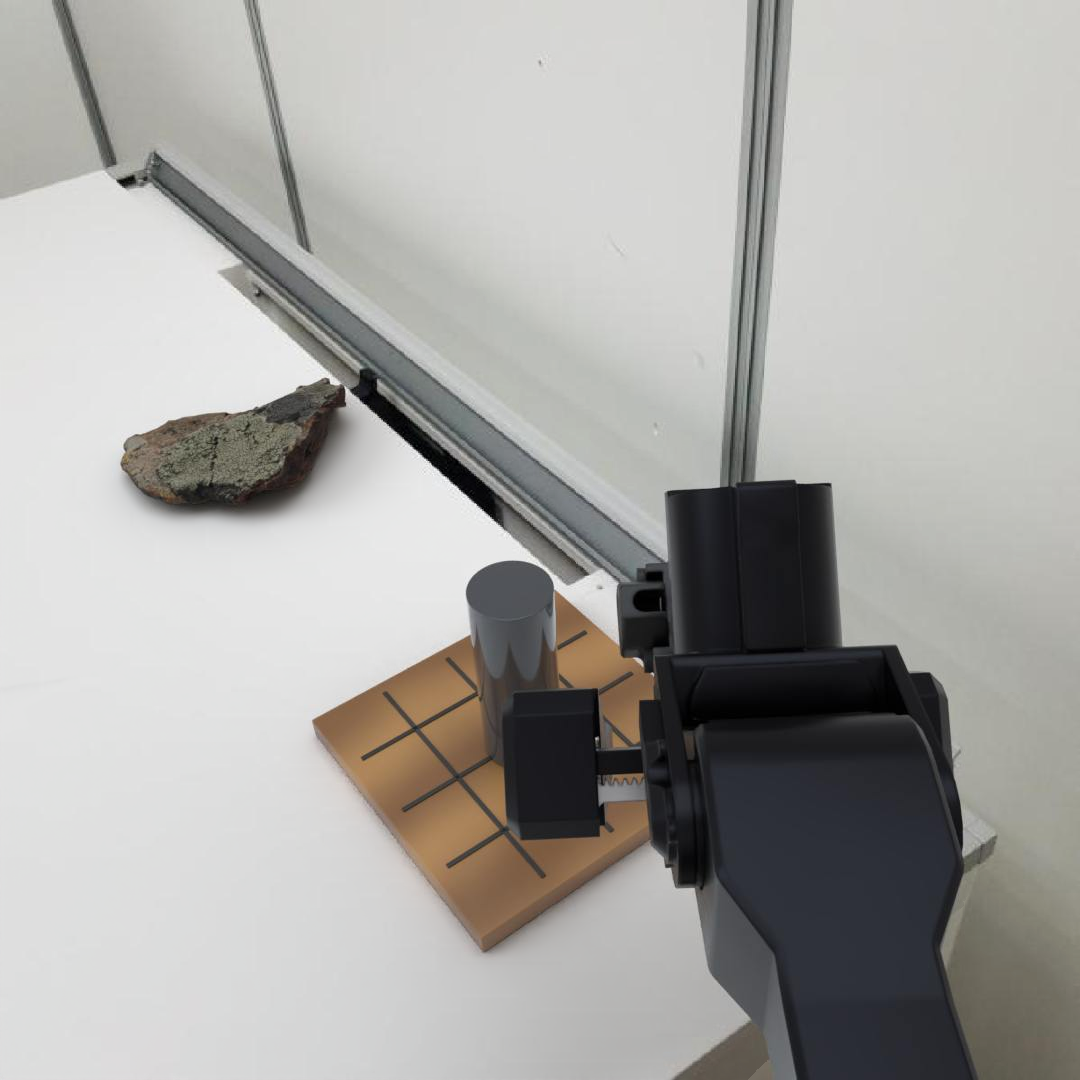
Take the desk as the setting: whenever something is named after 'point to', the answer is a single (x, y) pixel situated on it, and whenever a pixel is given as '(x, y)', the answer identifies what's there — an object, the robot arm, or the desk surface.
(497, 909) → the board
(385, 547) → the desk surface
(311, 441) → the rock
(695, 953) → the desk surface
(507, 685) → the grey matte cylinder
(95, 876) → the desk surface
